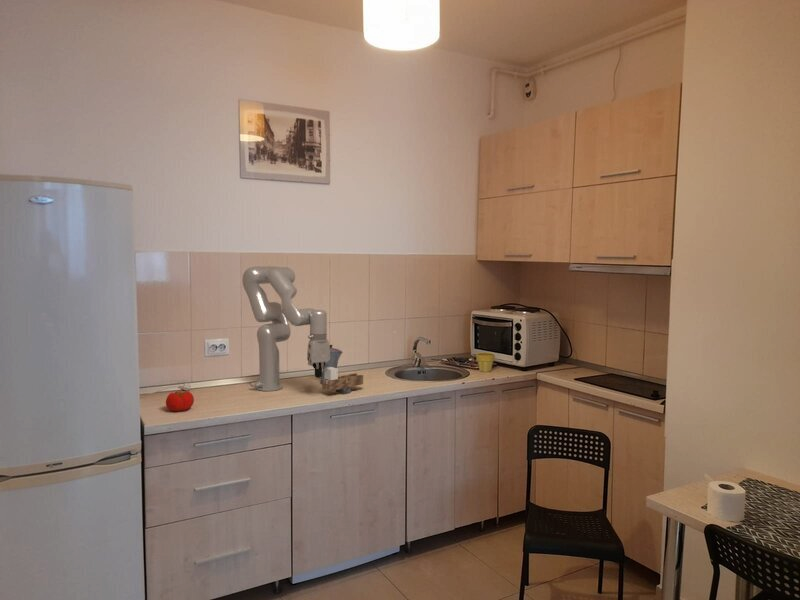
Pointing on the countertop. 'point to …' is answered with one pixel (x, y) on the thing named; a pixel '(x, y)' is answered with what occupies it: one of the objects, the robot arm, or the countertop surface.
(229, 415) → the countertop surface
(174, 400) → the tomato
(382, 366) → the countertop surface
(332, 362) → the moka pot
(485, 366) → the plant pot
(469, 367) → the countertop surface
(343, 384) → the beam
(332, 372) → the white block
